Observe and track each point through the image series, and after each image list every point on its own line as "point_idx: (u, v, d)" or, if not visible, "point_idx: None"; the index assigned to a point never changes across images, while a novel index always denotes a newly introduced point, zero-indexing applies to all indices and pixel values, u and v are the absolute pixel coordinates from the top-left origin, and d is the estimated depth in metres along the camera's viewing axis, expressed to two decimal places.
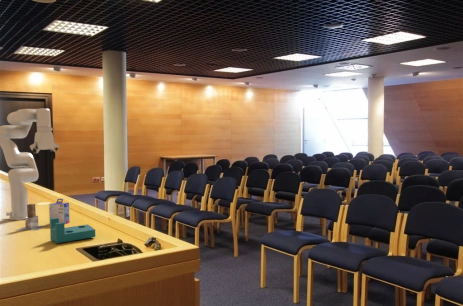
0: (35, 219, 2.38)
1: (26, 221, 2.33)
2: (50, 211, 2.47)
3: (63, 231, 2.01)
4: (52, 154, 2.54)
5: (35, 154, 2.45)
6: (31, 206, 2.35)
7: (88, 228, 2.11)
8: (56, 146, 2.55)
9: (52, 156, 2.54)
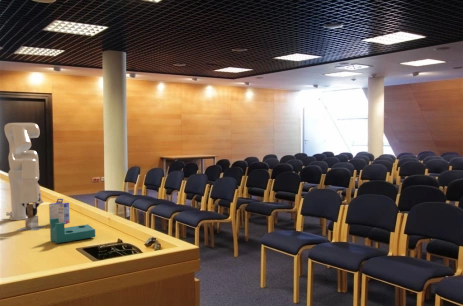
0: (35, 219, 2.38)
1: (26, 221, 2.33)
2: (50, 211, 2.47)
3: (63, 231, 2.01)
4: None
5: (36, 209, 2.37)
6: (31, 206, 2.35)
7: (88, 228, 2.11)
8: None
9: None
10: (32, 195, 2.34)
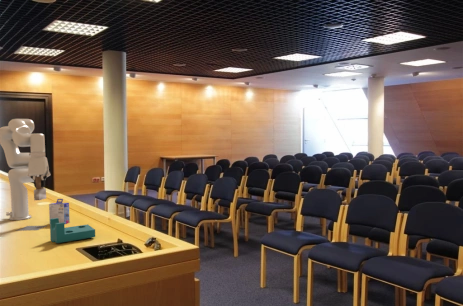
0: (43, 191, 2.50)
1: (34, 192, 2.44)
2: (50, 211, 2.47)
3: (63, 231, 2.01)
4: None
5: (44, 181, 2.48)
6: (39, 178, 2.47)
7: (88, 228, 2.11)
8: (31, 174, 2.49)
9: None
10: (40, 167, 2.45)
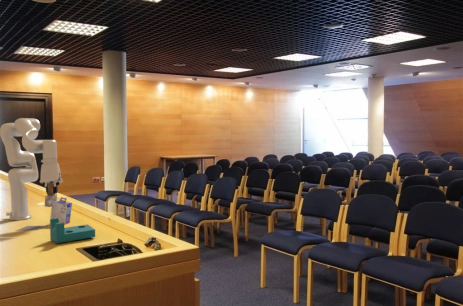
0: (54, 197, 2.49)
1: (45, 198, 2.44)
2: (52, 209, 2.46)
3: (63, 231, 2.01)
4: None
5: (56, 187, 2.48)
6: (52, 185, 2.46)
7: (88, 228, 2.11)
8: None
9: None
10: (52, 174, 2.45)
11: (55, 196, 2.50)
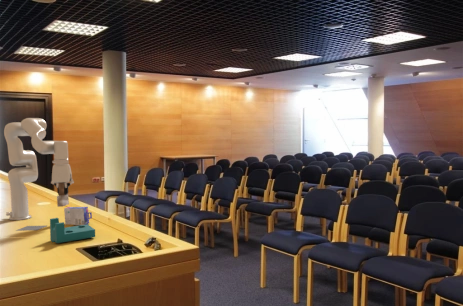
0: (66, 196, 2.49)
1: (57, 198, 2.44)
2: (76, 210, 2.43)
3: (63, 231, 2.01)
4: None
5: (67, 188, 2.48)
6: (62, 184, 2.46)
7: (88, 228, 2.11)
8: None
9: None
10: (64, 175, 2.45)
11: (67, 195, 2.50)
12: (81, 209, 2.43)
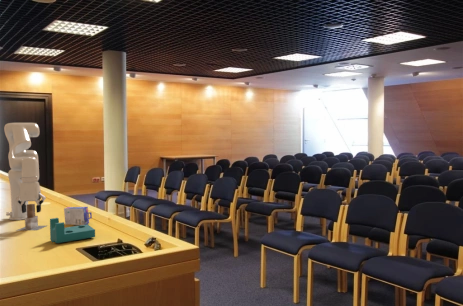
0: (35, 219, 2.38)
1: (25, 221, 2.33)
2: (76, 210, 2.43)
3: (63, 231, 2.01)
4: (24, 207, 2.37)
5: (40, 206, 2.37)
6: (31, 206, 2.35)
7: (88, 229, 2.11)
8: (19, 199, 2.38)
9: (24, 209, 2.37)
10: (32, 193, 2.34)
11: (36, 218, 2.39)
12: (81, 209, 2.42)
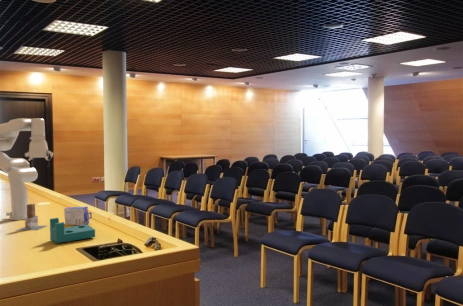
0: (35, 219, 2.38)
1: (25, 221, 2.33)
2: (76, 210, 2.43)
3: (63, 231, 2.01)
4: (32, 162, 2.62)
5: (49, 161, 2.61)
6: (31, 206, 2.35)
7: (88, 229, 2.11)
8: None
9: (32, 164, 2.62)
10: (40, 150, 2.58)
11: (36, 218, 2.39)
12: (81, 209, 2.42)
